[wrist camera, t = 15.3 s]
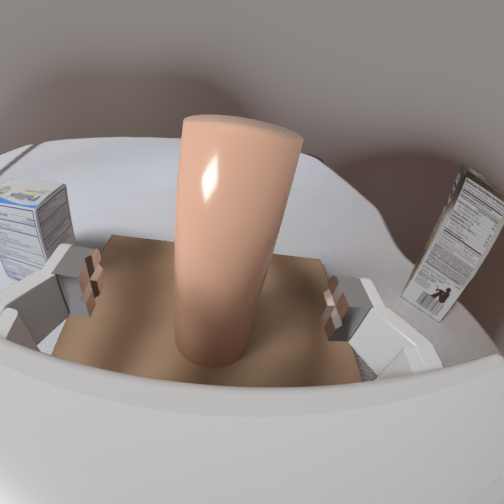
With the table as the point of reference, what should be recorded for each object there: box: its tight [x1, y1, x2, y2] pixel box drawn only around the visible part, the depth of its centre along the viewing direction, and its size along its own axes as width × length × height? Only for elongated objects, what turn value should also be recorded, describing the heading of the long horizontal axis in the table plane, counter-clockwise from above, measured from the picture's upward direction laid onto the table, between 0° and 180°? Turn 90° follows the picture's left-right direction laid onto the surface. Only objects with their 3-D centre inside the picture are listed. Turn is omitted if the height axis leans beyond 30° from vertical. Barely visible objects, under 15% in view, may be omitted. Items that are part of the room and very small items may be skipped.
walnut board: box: [52, 235, 363, 387], centre depth 19 cm, size 22×22×1 cm
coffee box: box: [401, 164, 504, 322], centre depth 25 cm, size 9×6×16 cm
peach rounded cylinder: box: [174, 115, 303, 368], centre depth 15 cm, size 5×5×14 cm
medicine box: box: [0, 179, 76, 280], centre depth 18 cm, size 8×4×9 cm, turn 87°
